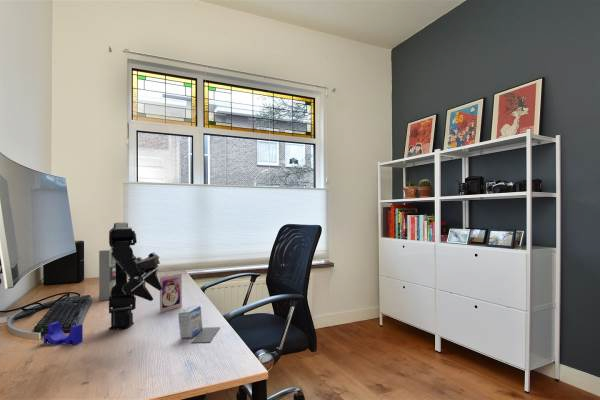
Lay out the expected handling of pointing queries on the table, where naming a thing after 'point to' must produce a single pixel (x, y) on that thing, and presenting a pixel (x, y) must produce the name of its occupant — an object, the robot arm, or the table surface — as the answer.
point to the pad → (206, 335)
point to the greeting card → (170, 292)
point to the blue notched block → (63, 334)
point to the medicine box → (190, 322)
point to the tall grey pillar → (106, 274)
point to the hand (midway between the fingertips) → (156, 294)
